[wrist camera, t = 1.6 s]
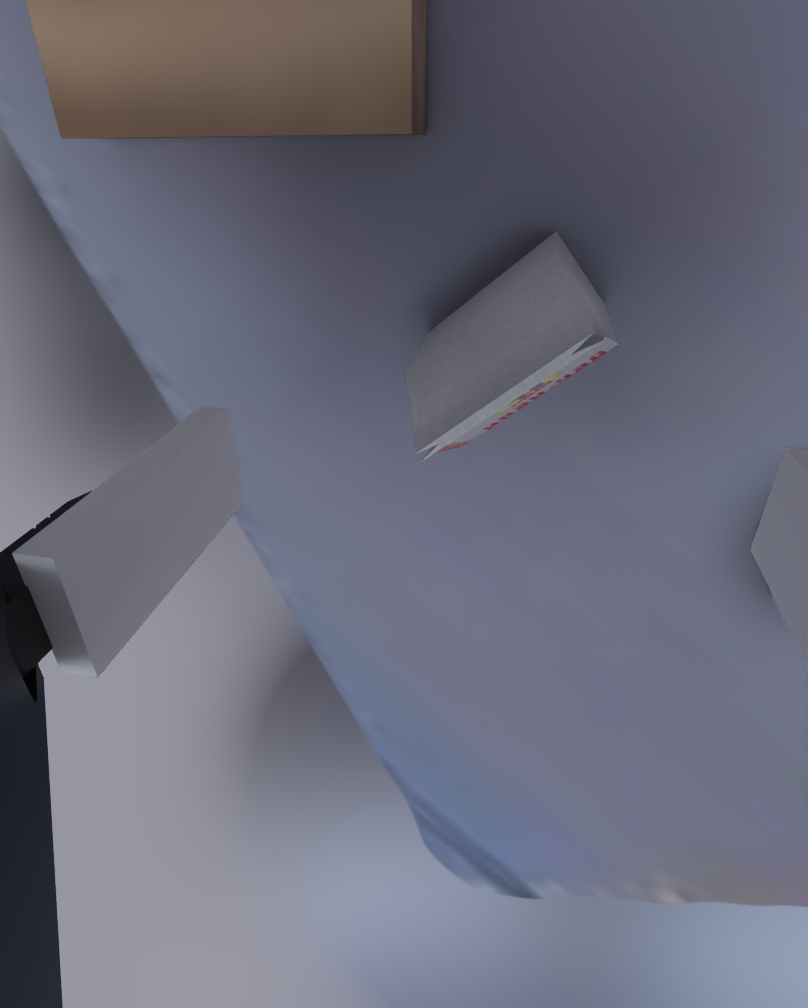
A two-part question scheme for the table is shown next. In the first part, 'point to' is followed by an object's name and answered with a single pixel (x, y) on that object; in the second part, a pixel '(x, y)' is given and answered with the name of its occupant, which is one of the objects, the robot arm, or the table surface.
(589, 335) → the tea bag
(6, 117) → the table surface
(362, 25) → the pedestal
